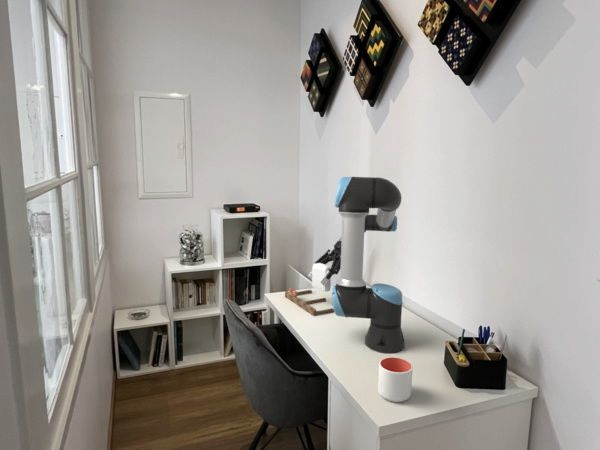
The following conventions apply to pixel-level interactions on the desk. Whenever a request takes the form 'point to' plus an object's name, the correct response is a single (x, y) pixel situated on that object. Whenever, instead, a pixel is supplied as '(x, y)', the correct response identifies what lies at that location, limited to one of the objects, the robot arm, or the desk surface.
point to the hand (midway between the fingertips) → (315, 280)
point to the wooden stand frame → (306, 302)
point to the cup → (395, 379)
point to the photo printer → (320, 277)
